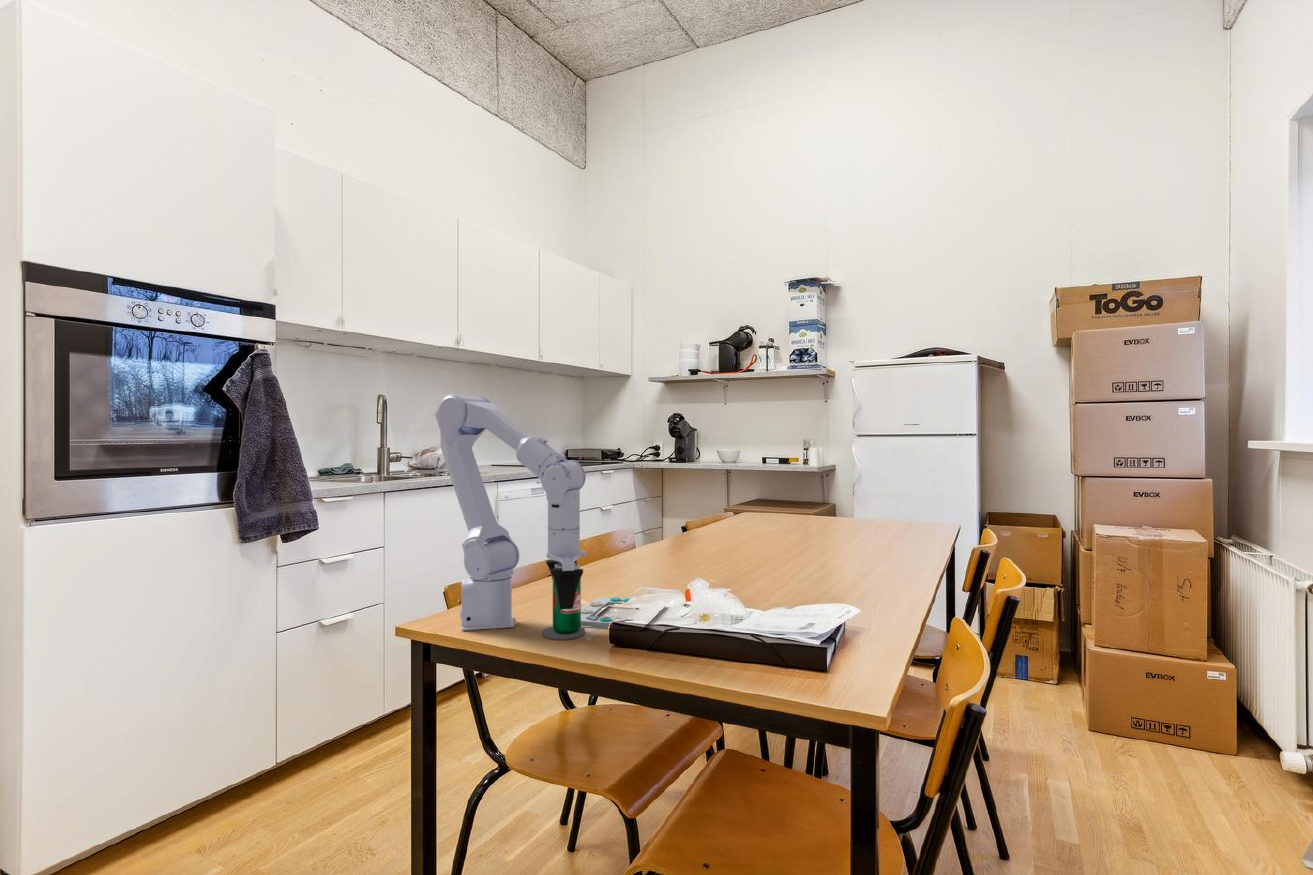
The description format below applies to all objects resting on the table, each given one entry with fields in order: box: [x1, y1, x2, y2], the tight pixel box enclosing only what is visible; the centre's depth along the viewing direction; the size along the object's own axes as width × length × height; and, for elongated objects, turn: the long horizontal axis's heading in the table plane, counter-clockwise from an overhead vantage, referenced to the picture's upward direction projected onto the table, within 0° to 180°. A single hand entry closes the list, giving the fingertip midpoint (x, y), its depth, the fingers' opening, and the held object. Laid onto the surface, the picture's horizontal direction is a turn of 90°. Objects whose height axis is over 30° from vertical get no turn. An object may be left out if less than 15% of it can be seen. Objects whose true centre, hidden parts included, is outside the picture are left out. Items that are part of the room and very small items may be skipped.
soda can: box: [552, 562, 582, 634], centre depth 124 cm, size 5×5×12 cm
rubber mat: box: [542, 625, 586, 641], centre depth 124 cm, size 8×8×1 cm
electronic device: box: [581, 597, 633, 630], centre depth 136 cm, size 18×2×15 cm
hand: (563, 603), depth 124 cm, fingers open, 7 cm apart
